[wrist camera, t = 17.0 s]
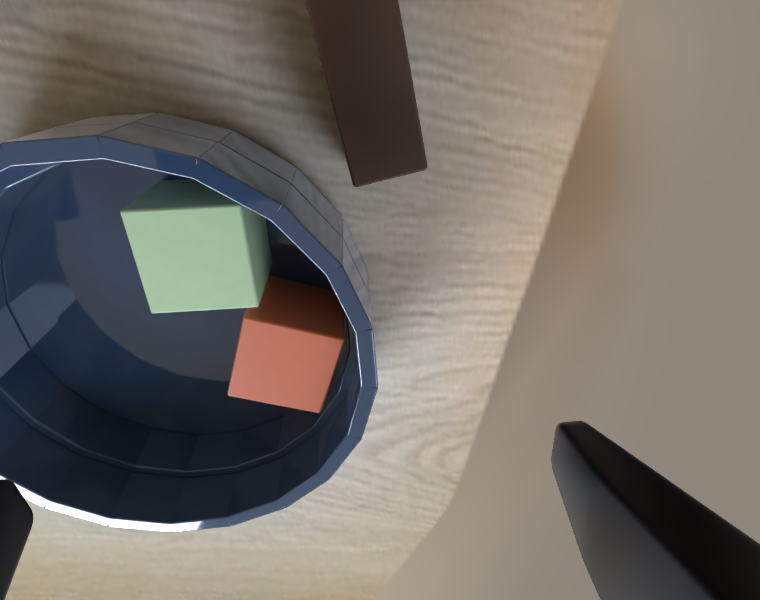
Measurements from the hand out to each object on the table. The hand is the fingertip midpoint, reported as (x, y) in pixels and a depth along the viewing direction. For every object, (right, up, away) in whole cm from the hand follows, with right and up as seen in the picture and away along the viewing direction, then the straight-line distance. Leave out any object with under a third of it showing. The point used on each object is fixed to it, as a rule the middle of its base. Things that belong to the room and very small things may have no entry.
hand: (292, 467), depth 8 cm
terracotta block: (-2, +2, +12) cm, 12 cm away
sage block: (-5, +6, +10) cm, 12 cm away
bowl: (-7, +3, +12) cm, 14 cm away
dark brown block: (+1, +12, +7) cm, 14 cm away
